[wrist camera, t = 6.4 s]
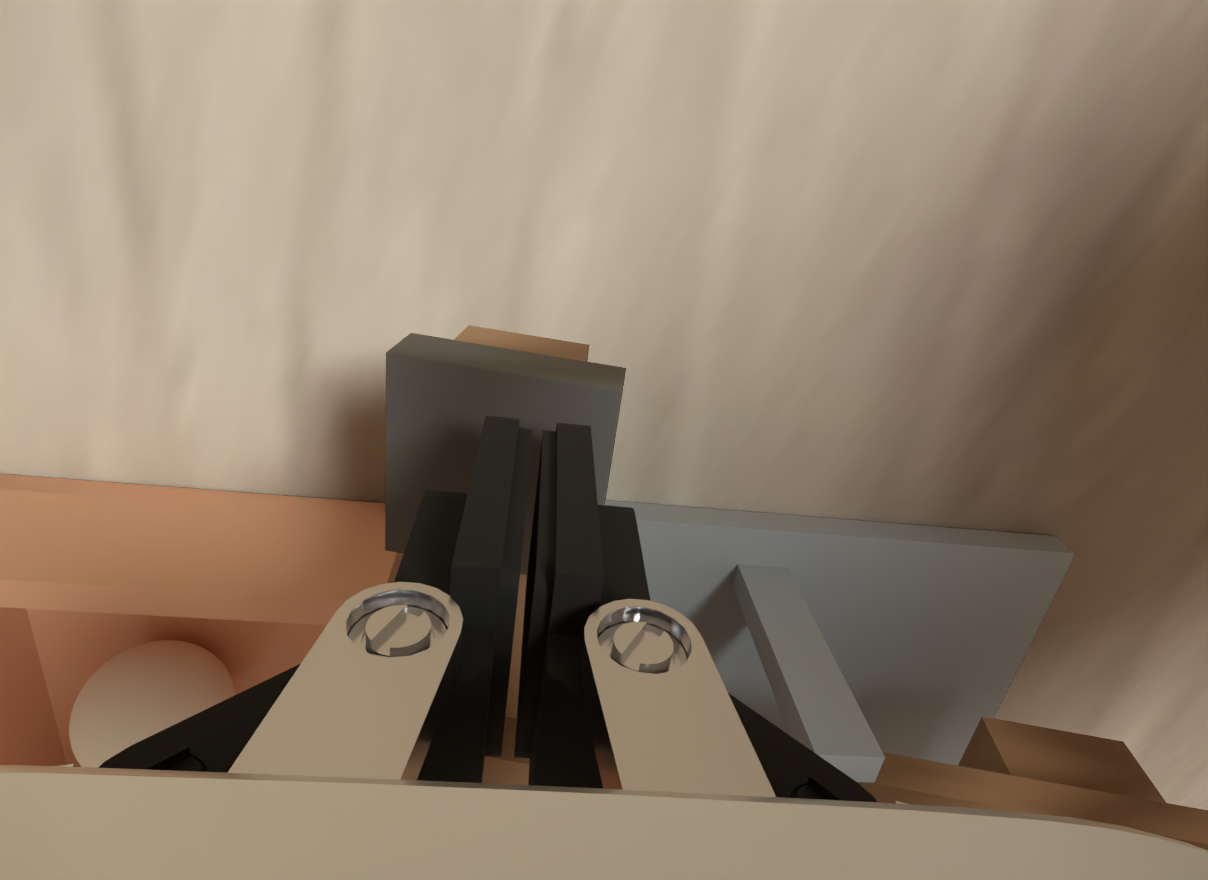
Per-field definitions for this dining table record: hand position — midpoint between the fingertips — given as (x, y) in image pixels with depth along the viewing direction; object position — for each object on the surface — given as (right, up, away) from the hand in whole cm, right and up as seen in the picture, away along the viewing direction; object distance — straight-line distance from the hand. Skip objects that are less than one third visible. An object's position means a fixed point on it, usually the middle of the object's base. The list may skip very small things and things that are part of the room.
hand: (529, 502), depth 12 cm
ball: (-12, -7, +9) cm, 16 cm away
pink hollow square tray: (-11, -6, +11) cm, 17 cm away
